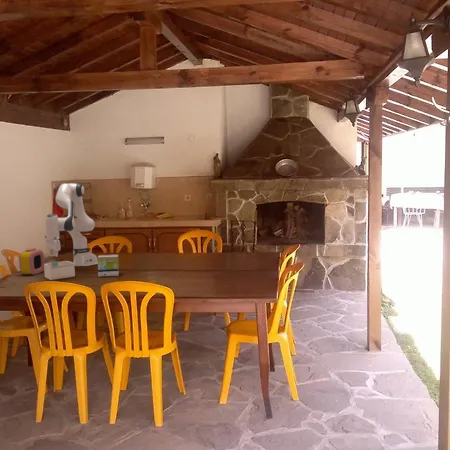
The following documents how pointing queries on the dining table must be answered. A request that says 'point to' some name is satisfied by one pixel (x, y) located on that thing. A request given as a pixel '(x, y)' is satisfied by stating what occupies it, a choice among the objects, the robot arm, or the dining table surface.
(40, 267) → the alarm clock
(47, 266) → the carton
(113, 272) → the tea box
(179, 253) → the dining table surface
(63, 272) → the lid flap
